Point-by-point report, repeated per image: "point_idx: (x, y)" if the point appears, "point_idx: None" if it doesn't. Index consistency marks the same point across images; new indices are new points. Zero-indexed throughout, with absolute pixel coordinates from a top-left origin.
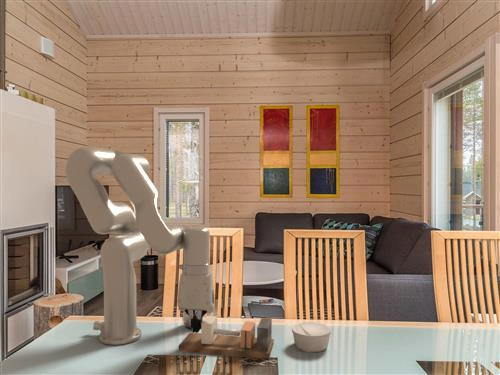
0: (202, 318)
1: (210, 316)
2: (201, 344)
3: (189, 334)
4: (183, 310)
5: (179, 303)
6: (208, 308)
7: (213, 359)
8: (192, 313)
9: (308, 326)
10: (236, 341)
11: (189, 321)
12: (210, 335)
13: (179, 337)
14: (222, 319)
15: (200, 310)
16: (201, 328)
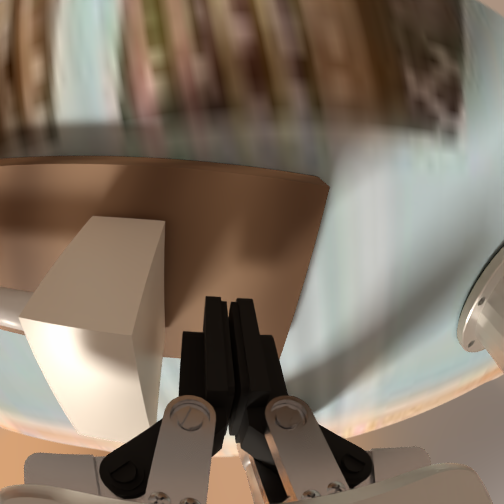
0: (238, 446)
1: (124, 440)
2: (166, 221)
3: (277, 343)
4: (382, 457)
5: (480, 502)
6: (3, 498)
7: (69, 84)
8: (280, 453)
9: None
10: (1, 281)
11: None
12: (75, 248)
13: (324, 334)
14: None
15: (167, 496)
16: (143, 290)
